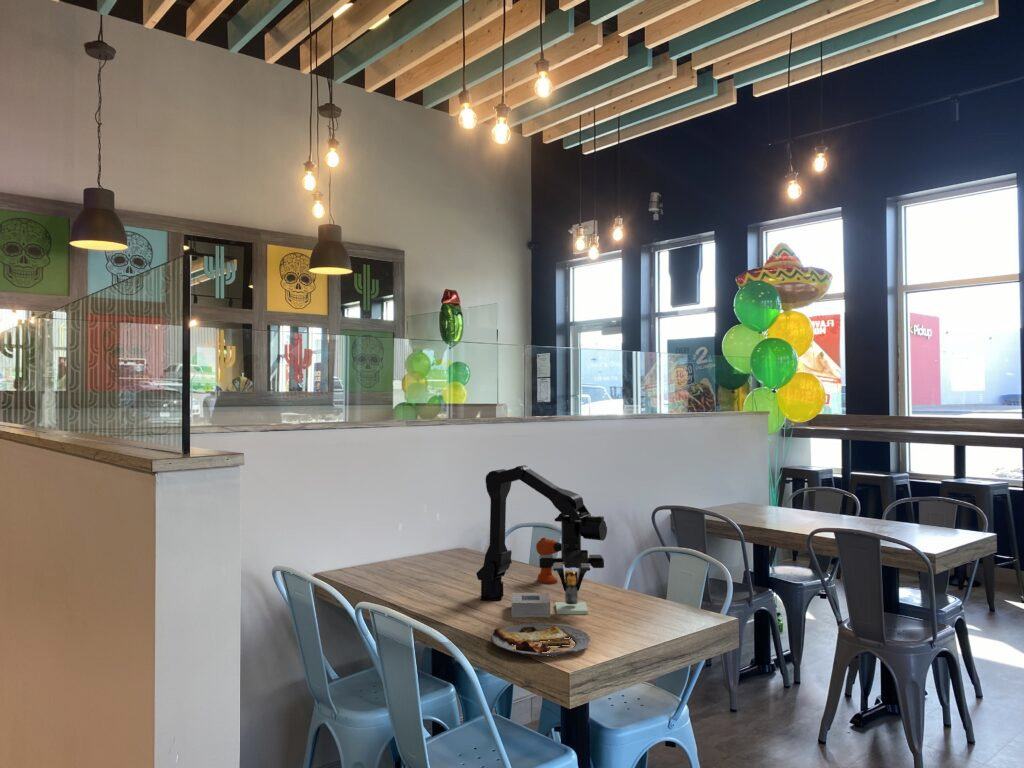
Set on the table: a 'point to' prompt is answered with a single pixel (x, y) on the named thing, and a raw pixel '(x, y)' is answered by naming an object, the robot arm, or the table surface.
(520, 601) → the block
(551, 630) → the food plate
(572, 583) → the gold and grey cylinder
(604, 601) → the table surface
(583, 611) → the green mat
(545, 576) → the toy drill
